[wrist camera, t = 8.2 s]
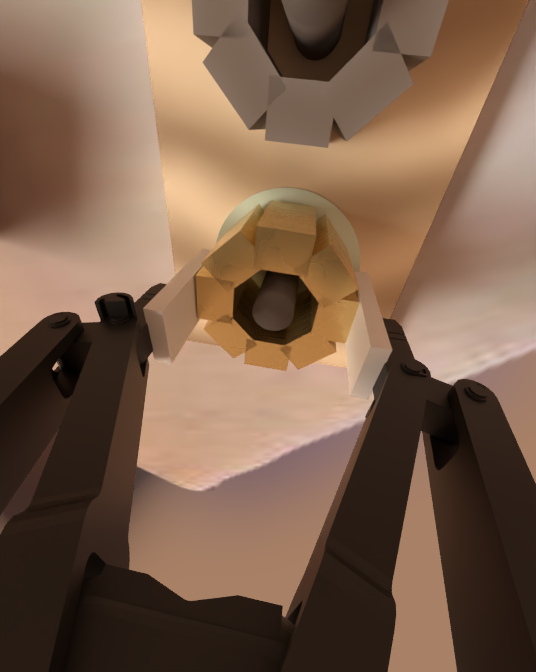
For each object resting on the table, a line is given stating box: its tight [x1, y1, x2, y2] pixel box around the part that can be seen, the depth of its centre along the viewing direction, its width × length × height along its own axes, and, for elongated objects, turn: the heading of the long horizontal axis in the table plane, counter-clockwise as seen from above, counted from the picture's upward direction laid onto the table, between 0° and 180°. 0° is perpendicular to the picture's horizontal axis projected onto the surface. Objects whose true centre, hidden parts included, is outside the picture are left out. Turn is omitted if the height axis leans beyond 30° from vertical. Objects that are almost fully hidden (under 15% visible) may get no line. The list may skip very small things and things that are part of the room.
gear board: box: [141, 0, 529, 368], centre depth 13 cm, size 26×15×7 cm, turn 174°
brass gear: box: [196, 200, 360, 371], centre depth 15 cm, size 8×8×5 cm
